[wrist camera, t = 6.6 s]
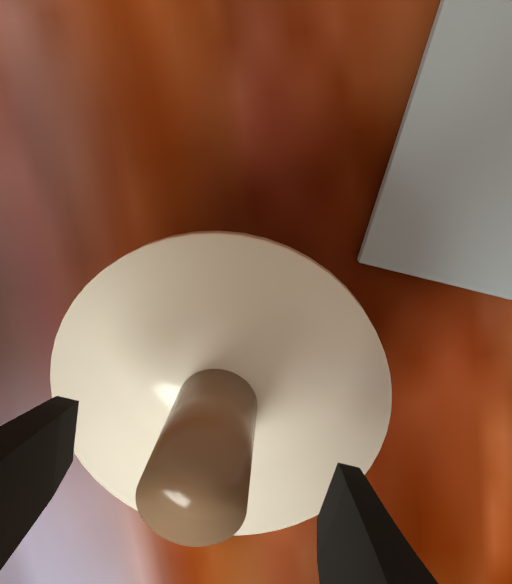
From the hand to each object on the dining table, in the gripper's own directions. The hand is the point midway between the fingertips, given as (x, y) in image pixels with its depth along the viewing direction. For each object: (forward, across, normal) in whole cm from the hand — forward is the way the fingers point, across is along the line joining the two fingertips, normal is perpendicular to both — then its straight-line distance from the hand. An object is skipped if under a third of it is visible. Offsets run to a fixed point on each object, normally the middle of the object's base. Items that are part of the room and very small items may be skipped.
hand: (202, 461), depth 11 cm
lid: (+3, 0, 0) cm, 3 cm away
